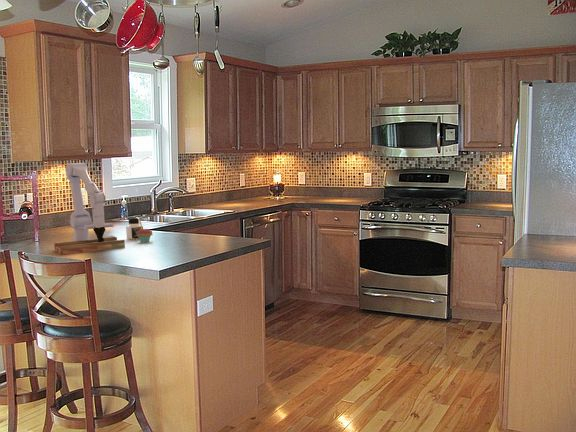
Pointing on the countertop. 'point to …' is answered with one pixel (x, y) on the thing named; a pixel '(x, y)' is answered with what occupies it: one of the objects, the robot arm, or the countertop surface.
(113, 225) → the robot arm
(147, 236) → the cupcake
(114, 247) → the box
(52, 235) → the countertop surface
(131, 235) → the medicine bottle
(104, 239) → the walnut block
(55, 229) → the countertop surface
